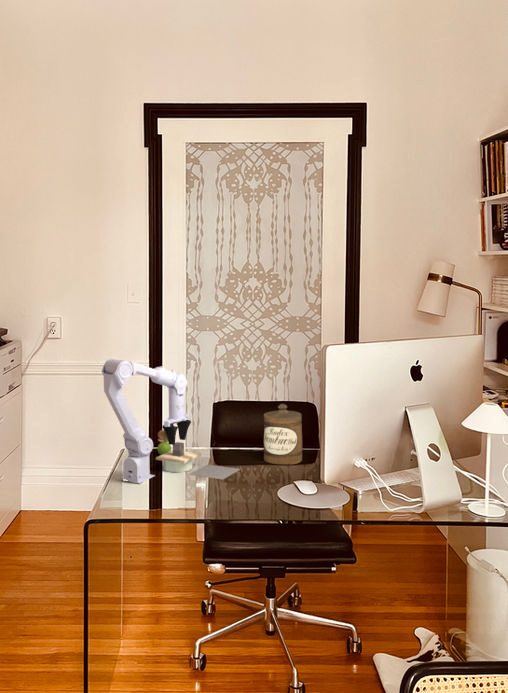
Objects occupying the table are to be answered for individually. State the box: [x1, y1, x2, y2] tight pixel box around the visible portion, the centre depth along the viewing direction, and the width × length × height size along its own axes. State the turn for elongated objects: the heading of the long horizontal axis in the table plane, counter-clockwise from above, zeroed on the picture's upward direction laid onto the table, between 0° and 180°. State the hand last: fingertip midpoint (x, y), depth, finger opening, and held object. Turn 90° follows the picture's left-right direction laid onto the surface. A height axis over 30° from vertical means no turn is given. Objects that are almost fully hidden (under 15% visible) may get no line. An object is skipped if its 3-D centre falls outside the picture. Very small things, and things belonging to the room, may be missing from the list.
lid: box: [155, 441, 202, 463], centre depth 262 cm, size 12×12×5 cm
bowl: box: [162, 459, 193, 473], centre depth 263 cm, size 10×10×5 cm
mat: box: [188, 464, 241, 481], centre depth 258 cm, size 14×14×1 cm
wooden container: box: [263, 403, 303, 466], centre depth 274 cm, size 15×15×22 cm
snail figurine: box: [157, 429, 172, 456], centre depth 282 cm, size 5×6×12 cm
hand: (177, 442), depth 262 cm, fingers open, 7 cm apart
